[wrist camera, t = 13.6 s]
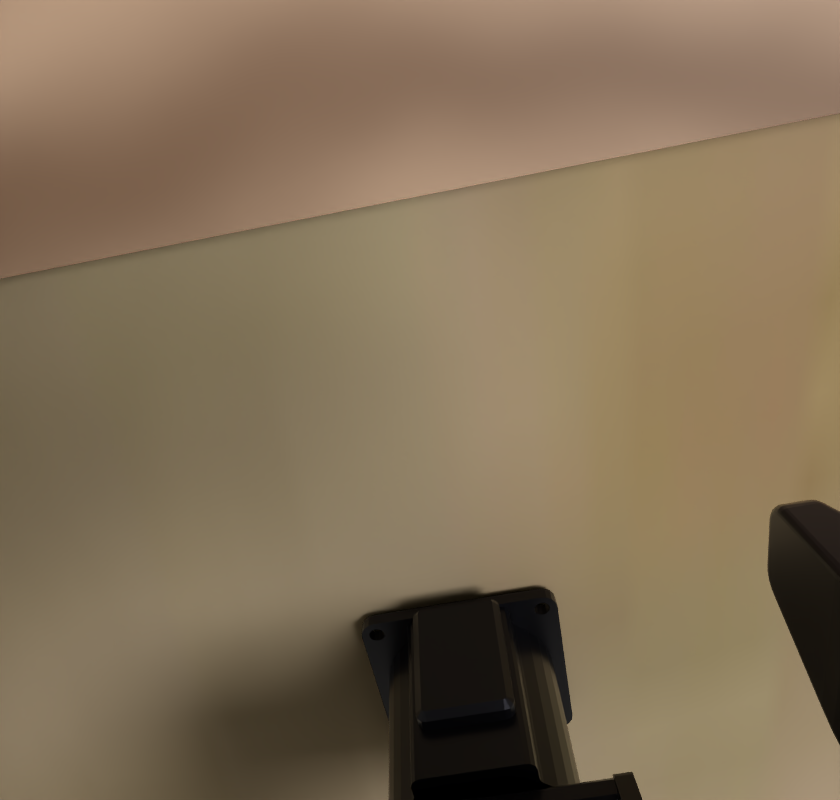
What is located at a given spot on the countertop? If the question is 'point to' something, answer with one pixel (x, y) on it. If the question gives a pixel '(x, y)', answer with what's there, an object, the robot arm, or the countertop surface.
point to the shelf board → (360, 103)
